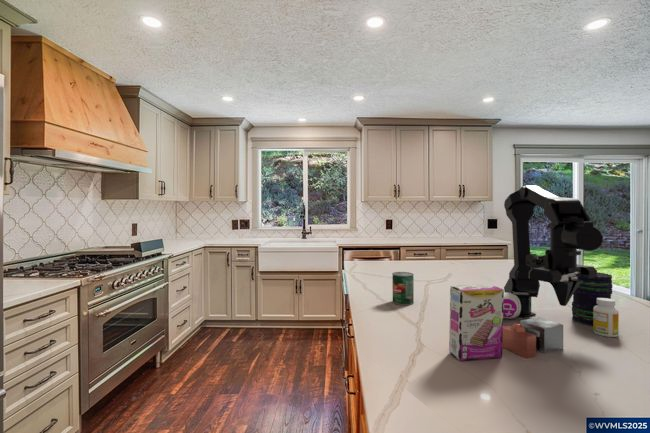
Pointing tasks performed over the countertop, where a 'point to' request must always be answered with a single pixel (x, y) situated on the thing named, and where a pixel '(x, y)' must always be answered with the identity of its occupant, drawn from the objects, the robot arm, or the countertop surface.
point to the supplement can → (511, 306)
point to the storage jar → (590, 296)
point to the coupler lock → (545, 333)
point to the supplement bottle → (605, 318)
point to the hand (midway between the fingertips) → (562, 305)
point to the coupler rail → (520, 340)
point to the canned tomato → (403, 288)
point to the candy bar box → (476, 322)
